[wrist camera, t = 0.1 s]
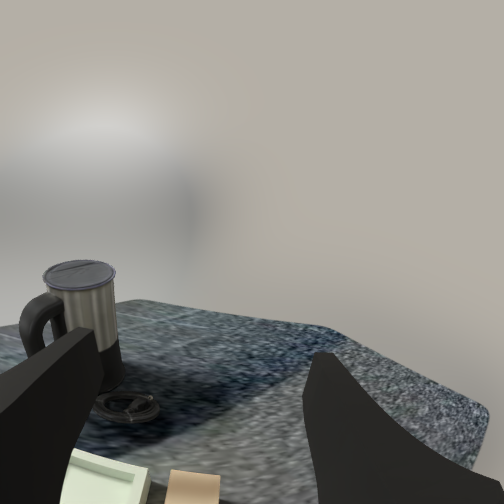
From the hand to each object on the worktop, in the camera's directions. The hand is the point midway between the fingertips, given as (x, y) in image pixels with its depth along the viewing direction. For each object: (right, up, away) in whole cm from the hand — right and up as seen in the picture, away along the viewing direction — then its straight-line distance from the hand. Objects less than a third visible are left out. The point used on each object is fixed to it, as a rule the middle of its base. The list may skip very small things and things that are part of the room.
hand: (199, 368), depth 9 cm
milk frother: (-16, -14, +24) cm, 32 cm away
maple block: (-3, -19, +10) cm, 22 cm away
